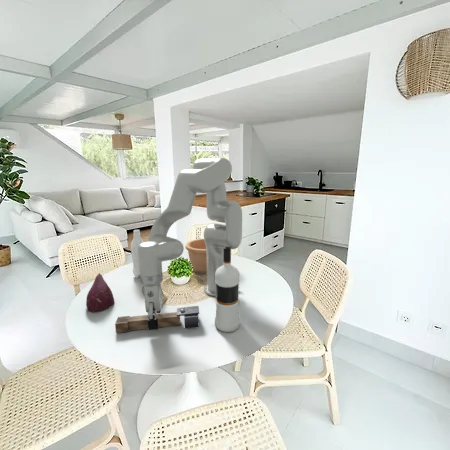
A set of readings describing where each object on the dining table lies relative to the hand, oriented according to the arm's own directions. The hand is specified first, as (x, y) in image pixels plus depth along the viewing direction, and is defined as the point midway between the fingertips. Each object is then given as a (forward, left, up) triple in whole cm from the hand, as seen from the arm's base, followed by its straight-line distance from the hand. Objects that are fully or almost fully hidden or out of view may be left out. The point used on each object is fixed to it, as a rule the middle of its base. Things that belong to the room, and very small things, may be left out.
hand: (154, 320), depth 91 cm
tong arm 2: (+2, -1, -2) cm, 3 cm away
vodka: (-26, +4, -2) cm, 26 cm away
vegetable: (+24, -18, -2) cm, 30 cm away
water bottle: (+12, -45, -2) cm, 47 cm away
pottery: (-23, -50, -2) cm, 55 cm away
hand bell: (+1, -19, -2) cm, 19 cm away
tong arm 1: (+2, +1, -2) cm, 3 cm away
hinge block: (-12, 0, -2) cm, 12 cm away
